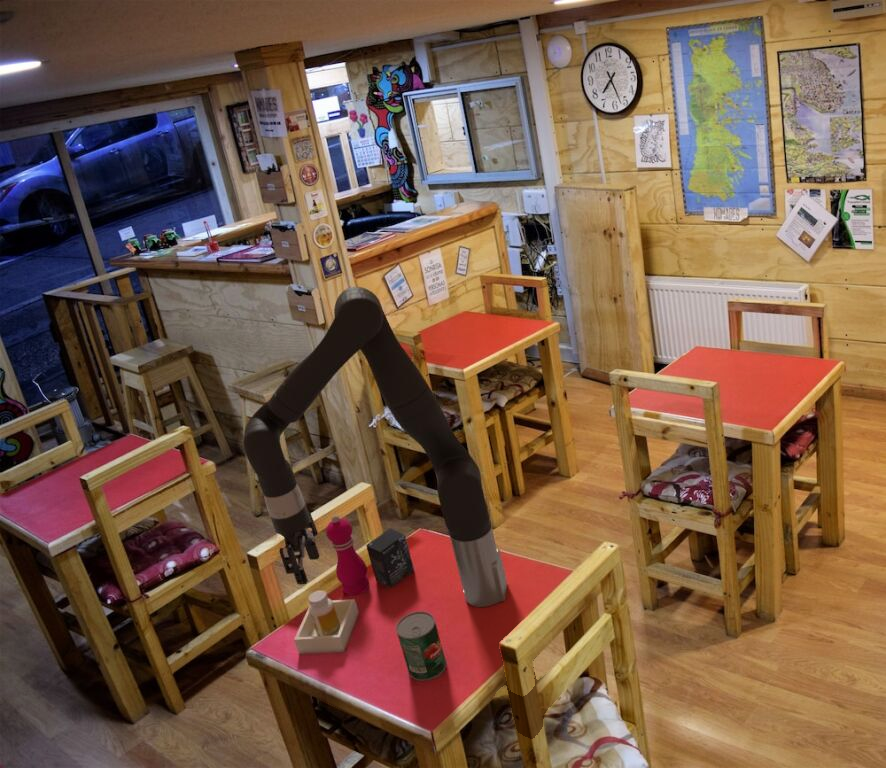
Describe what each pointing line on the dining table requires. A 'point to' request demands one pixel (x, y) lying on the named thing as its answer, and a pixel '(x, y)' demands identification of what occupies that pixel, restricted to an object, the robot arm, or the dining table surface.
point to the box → (390, 557)
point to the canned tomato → (421, 645)
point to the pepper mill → (347, 557)
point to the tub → (313, 643)
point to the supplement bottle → (323, 614)
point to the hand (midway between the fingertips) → (309, 570)
